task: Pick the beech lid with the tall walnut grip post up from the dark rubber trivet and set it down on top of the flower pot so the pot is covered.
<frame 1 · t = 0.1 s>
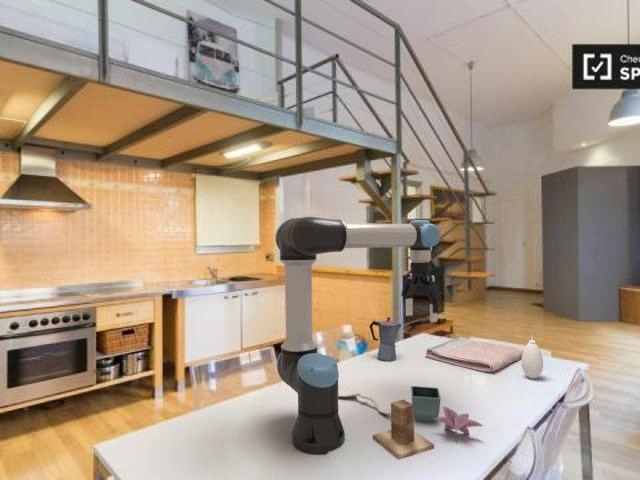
hand: (421, 318, 146), 28 cm above the table, fingers open, 13 cm apart
spoon: (362, 404, 138), on the table
towel: (474, 358, 189), on the table
lid: (402, 443, 110), resting on trivet
moka pot: (386, 359, 189), on the table
trivet: (402, 444, 110), on the table
white tall oval piece: (532, 378, 161), on the table
flower pot: (425, 420, 125), on the table
lily: (457, 439, 113), on the table
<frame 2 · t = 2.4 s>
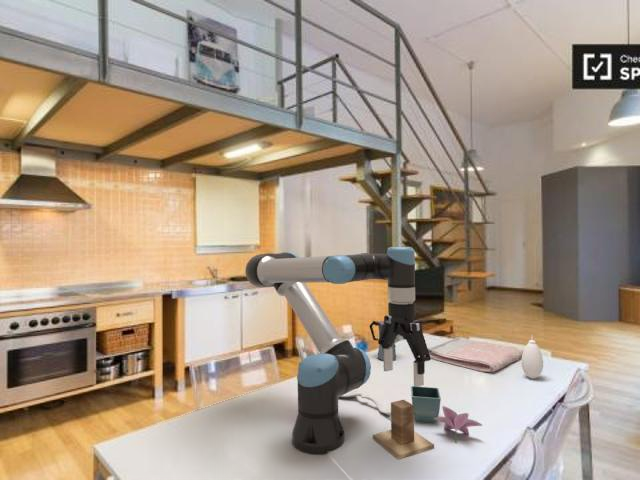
hand: (402, 377, 110), 19 cm above the table, fingers open, 13 cm apart
nothing on the table moved.
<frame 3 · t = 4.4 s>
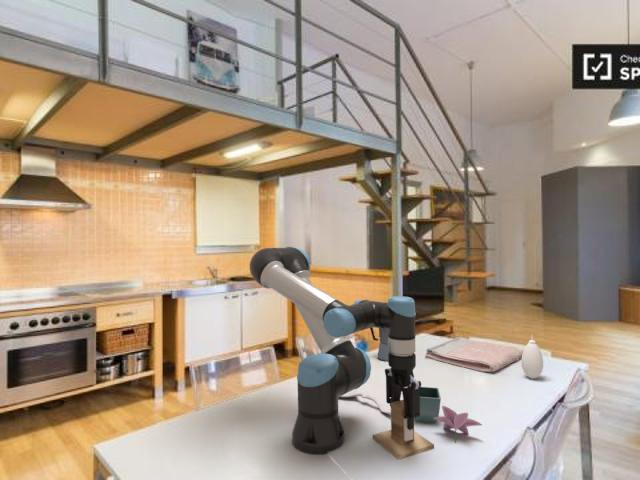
hand: (402, 435, 110), 3 cm above the table, fingers closed on lid, 4 cm apart
lid: (402, 443, 110), resting on trivet, touching gripper
everything else where it was.
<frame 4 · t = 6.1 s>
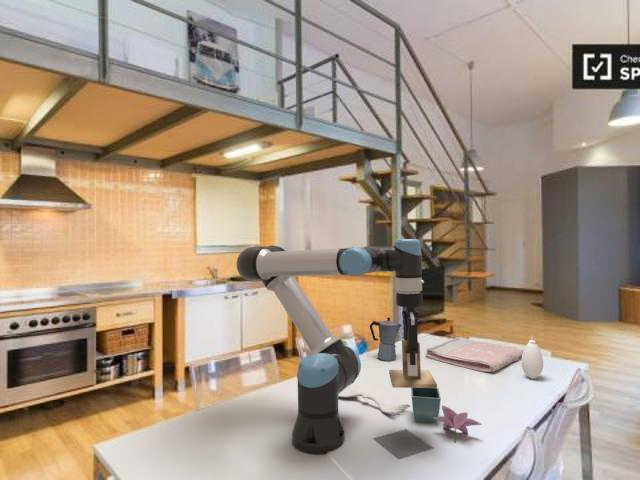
hand: (411, 372, 113), 19 cm above the table, fingers closed on lid, 4 cm apart
lid: (411, 380, 113), point 17 cm above the table, touching gripper
everything else where it was.
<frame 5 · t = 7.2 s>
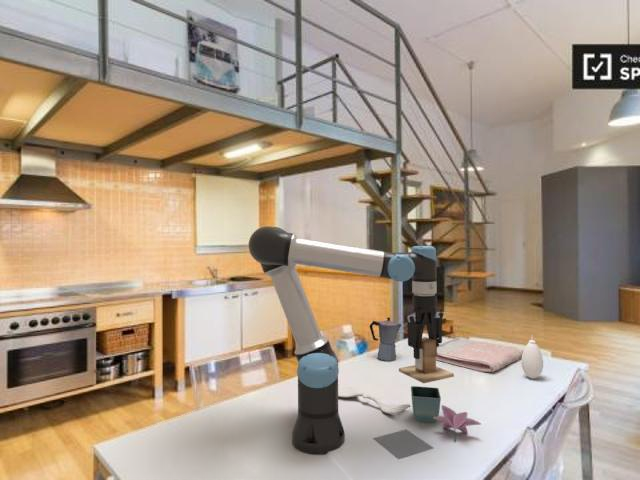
hand: (425, 367, 125), 17 cm above the table, fingers closed on lid, 4 cm apart
lid: (425, 374, 125), point 15 cm above the table, touching gripper
everything else where it was.
when the fingers open (13 cm above the table, at t = 8.1 s): lid drops 2 cm, resting on flower pot.
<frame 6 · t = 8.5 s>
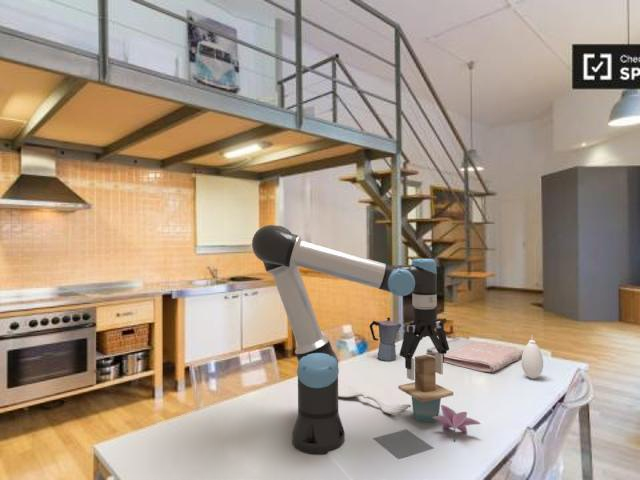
hand: (425, 375, 125), 14 cm above the table, fingers open, 11 cm apart
lid: (425, 391, 125), point 9 cm above the table, touching flower pot
flower pot: (425, 420, 125), on the table, touching lid
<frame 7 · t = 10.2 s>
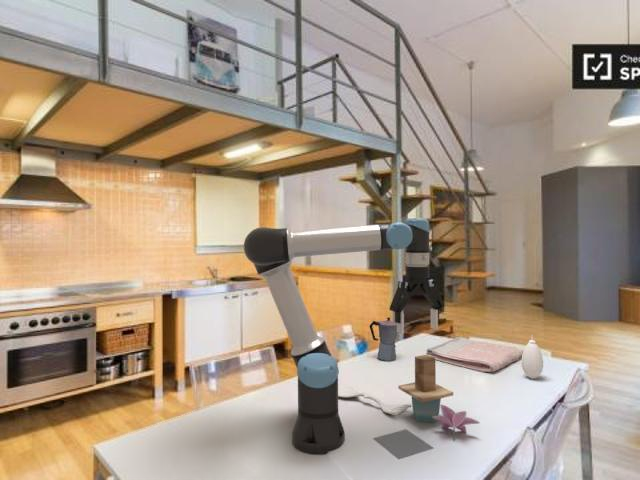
hand: (417, 331, 128), 28 cm above the table, fingers open, 13 cm apart
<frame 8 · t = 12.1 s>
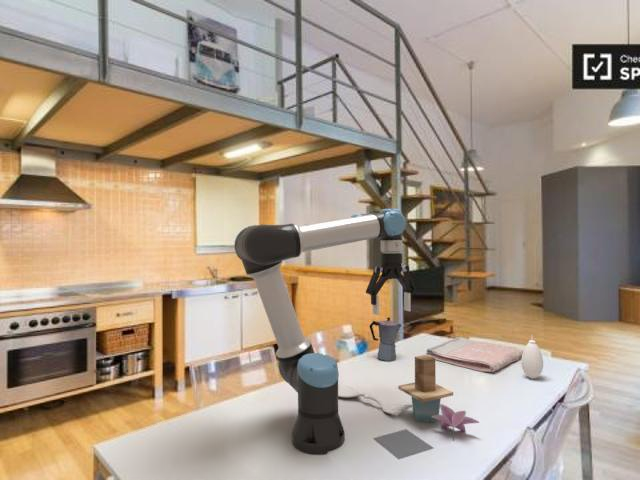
hand: (391, 312, 139), 32 cm above the table, fingers open, 13 cm apart
at the end: lid inside the target area on the flower pot (0.1 cm from its centre), point 9.1 cm above the flower pot's base; lid tilted 0°; the gripper is holding nothing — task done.
